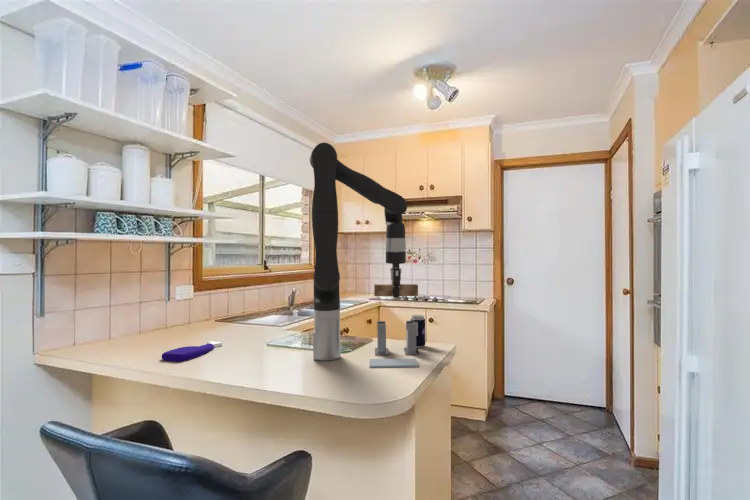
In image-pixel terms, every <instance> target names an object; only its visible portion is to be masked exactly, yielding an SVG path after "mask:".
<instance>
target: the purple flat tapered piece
mask: <svg viewBox="0 0 750 500" xmlns="http://www.w3.org/2000/svg"><path fill="white" fill-rule="evenodd" d="M218 347H223V342H219V341H207V343H205V344H201V345H193V346H192V345H190V346H182V347H177V348H174V349H171V350H166V351H165V352H163V353H162V354H161V360H162V361H164V360H165V361H164V362H173V361H174V362H176V363H182V362H186V361H190V360H193V359H196V358H198V357H202V356H203V355H206V354H208V353H209V352H210V351H212V350H213V349H214V348H218Z"/></svg>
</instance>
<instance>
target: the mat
mask: <svg viewBox="0 0 750 500" xmlns="http://www.w3.org/2000/svg"><path fill="white" fill-rule="evenodd" d="M419 366H420V365H419V363H418V360H417V358H413V357H412V358H370V359H369V368H370V369H372V368H373V369H375V368H377V369H379V368H382V369H384V368H419Z"/></svg>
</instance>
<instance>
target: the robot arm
mask: <svg viewBox="0 0 750 500" xmlns="http://www.w3.org/2000/svg"><path fill="white" fill-rule="evenodd" d="M309 163H310V166H311V167H312V168H313V179H314V181H313V182H314V183H313V184H314V186H313V187H314V188H313V193H312V195H313V196H312V200H311V201H312V203H311V226H312V229H311V230H312V235H313V242H314V250H315V257H314V258H315V262H314V272H313V332H312V340H313V341H312V342H313V343H312V345H313V346H312V351H313V352H312V353H313V360H316V361H317V360H318V361H334V360H338V359H340V358H341V298H340V280H341V275H340V271H339V269H340V268H339V262H338V255H337V254H338V253H337V252H338V251H337V250H338V249H337V248H338V238H339V237H338V236H339V206H338V195H337V187H336V181H338V182H339V183H342V184H343V185H345V187H346V186H347V187H348V188H350V189H351V190H353V191H354V192H356V193H357V194H359V195H360V196H362V197H364V198H365V200H366V199H367V200H368V201H369V202H371V203H373V204H376V205H379V206H381V207H383V208H384V209H383V210H384V219H385V224H386V228H385V229H386V232H385V235H386V236H385V238H386V239H385V240H386V241H385V264H391V266H392V267H391V268H389V269H390V270H389V271H390V280H391V284H393V296H392V297H393V298H395V299H398V298H400V296H399V287H400V284H401V281H402V268H400V265H401V264H406V263H407V244H406V243H407V242H406V225H405V224H404V223H403V215H404V214H405V213H406V212H407V209H408V202H407V200H406V199H405V198H404V197H403V196H402V195H400V194H399V193H397V192H394V191H393V190H390V189H388V188H385V187H384V186H383V185H381V184H380V183H378V182H377V181H376V180H374V179H372V178H370V177H369V176H367V175H365V174H364V173H361V172H359V171H357V170H353V169H352V168H350V167H348V166H346V164H344V163H342V161H340V160H339V159H338V153H337V151H336V148H335V147H334V146H333V145H332V144H330V143H329V142H320V143H317V144H316V145H315V146H314V147H313V149H312V150H311V153H310V155H309Z"/></svg>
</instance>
